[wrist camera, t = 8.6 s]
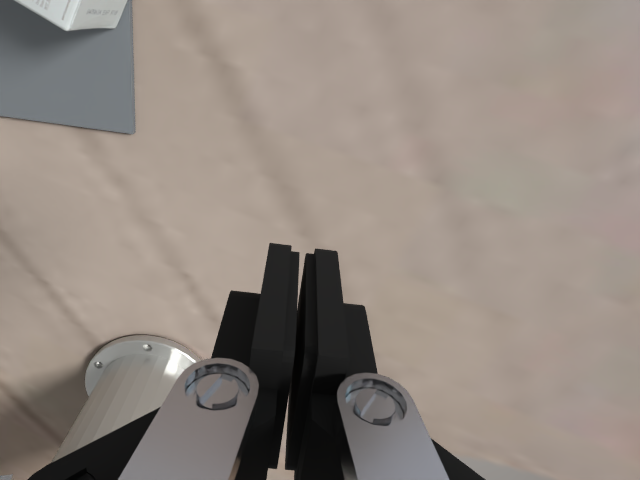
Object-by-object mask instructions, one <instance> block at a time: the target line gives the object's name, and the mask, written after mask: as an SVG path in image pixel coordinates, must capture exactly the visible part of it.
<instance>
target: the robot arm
mask: <svg viewBox="0 0 640 480" xmlns="http://www.w3.org/2000/svg"><path fill="white" fill-rule="evenodd" d="M298 274H299V252H292V251H291V246H290V245H282V244H274V243H270V244H269V250H268V256H267V261H266V267H265V273H264V278H263V284H262V290H261V294H257V293H248V292H239V291H230V294H229V298H228V301H227V305H226V308H225V311H224V315H223V318H222V322H221V325H220V329H219V332H218V336H217V339H216V343H215V346H214V350H213V353H212V357H211V359H205V360H202V361H201V359H200V358H198V357H197V356H196V355H195V354H194V353H193V352H192V351H190V350H189V349H187V348H186V347H184V346H183V345H180V344H178V343H176V342H174V341H172V340H168V339H165V338H162V337H156V336H149V335H134V336H128V337H122V338H120V339H117V340H114V341H112V342H110V343H108V344H107V345H105V346H103V347H102V348H101V349H100V350H99V351H98V352H97V353H96V354H95V356H94V357H93V359H92V360H91V362H90V363H89V365H88V368H87V370H86V374H85V389H86V392H87V394H88V397H89V398H88V399H87V401H86V403H85V404H84V406H83V408H82V410H81V411H80V413H79V415H78V417H77V418H76V420H75V422H74V424H73V425H72V427H71V429H70V431H69V432H68V434H67V436H66V437H65V439H64V441H63V443H62V444H61V446H60V448H59V450H58V451H57V453H56V455H55V457H54V458H53V460H52V462H51V463H50V464H48V465H47V466H45V467H44V468H42V469H41V470H39V471H37V472H36V473H34V474H33V475H32V476H31V477H30V478H29V479H28V480H266V478H267V471H268V468H272V469H277V465H278V459H279V453H280V446H281V440H282V434H283V427H284V421H285V415H286V408H287V402H288V395H289V403H288V422H287V440H286V458H285V470H295V473H294V480H485V479H484V478H482V477H481V476H480V475H478V474H477V473H476V472H475V471H473V470H472V469H471V468H469V467H468V466H467V465H465V464H464V463H463V462H461V461H460V460H459V459H457V458H456V457H455V456H453V455H452V454H451V453H449V452H448V451H447V450H446V449H444V448H443V447H442V446H440V445H439V444H438V443H436V442H435V441H434V440H432V439H431V438H430V436H429V434H428V431H427V429H426V427H425V425H424V423H423V420H422V418H421V416H420V414H419V412H418V409H417V407H416V405H415V403H414V401H413V399H412V397H411V396H410V394H409V393H408V391H407V390H406V389H405V388H403V387H402V386H401V385H400V384H399V383H397V382H396V381H394V380H392V379H390V378H389V377H386V376H382V375H379V374H378V373H377V368H376V363H375V357H374V352H373V347H372V341H371V336H370V331H369V325H368V320H367V315H366V310H365V307H364V306H363V305H354V304H345V303H343V296H342V287H341V279H340V270H339V261H338V253H337V251H331V250H323V249H315V251H314V254H309V253H306V256H305V262H304V269H303V276H302V282H301V289H300V295H299V302H298V309H297V297H298ZM0 480H14V478H13V474H12V475H3V476H0Z"/></svg>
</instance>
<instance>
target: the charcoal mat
mask: <svg viewBox="0 0 640 480" xmlns="http://www.w3.org/2000/svg"><path fill="white" fill-rule="evenodd" d="M0 116H5V117H12V118H19V119H27V120H34V121H41V122H48V123H56V124H63V125H70V126H77V127H84V128H92V129H99V130H106V131H113V132H121V133H128V134H134V133H135V99H134V62H133V25H132V0H127V3H126V5H125V7H124V10H123V12H122V15H121V17H120V20H119V22H118V24H117V26H116V28H113V29H109V28H92V29H80V30H72V31H65V30H63V29H61V28H60V27H58V26H56V25H55V24H53V23H51V22H50V21H48V20H46V19H45V18H43V17H41V16H40V15H38V14H36V13H35V12H33V11H31V10H29V9H28V8H26V7H24V6H23V5H21V4H19V3H18V2H16V1H14V0H0Z"/></svg>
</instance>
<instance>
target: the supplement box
mask: <svg viewBox="0 0 640 480" xmlns="http://www.w3.org/2000/svg"><path fill="white" fill-rule="evenodd" d="M14 1H16V2H18V3H19V4H21V5H23V6H24V7H26V8H28V9H29V10H31V11H33V12H35V13H36V14H38V15H40V16H41V17H43V18H45V19H46V20H48V21H50V22H51V23H53V24H55V25H56V26H58V27H60V28H61V29H63V30H65V31H72V30H80V29H92V28H109V29H113V28H116V26H117V24H118V22H119V20H120V17H121V15H122V12H123V10H124V7H125V5H126V3H127V0H14Z"/></svg>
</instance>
